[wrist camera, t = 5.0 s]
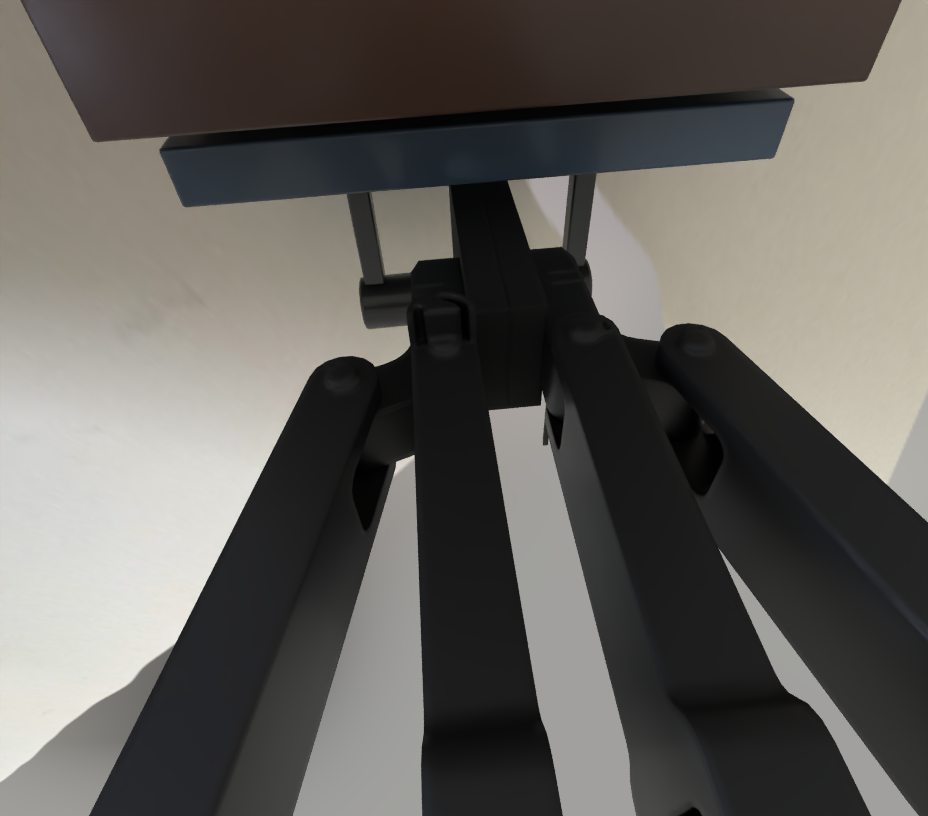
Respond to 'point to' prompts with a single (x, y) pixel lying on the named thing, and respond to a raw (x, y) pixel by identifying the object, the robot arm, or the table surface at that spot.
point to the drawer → (471, 161)
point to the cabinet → (430, 56)
